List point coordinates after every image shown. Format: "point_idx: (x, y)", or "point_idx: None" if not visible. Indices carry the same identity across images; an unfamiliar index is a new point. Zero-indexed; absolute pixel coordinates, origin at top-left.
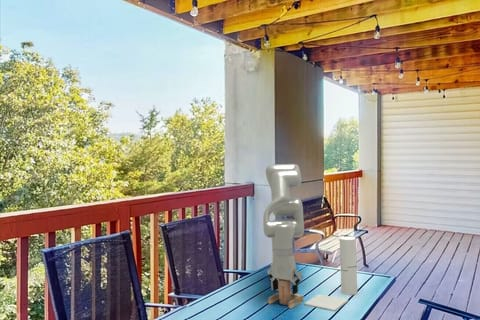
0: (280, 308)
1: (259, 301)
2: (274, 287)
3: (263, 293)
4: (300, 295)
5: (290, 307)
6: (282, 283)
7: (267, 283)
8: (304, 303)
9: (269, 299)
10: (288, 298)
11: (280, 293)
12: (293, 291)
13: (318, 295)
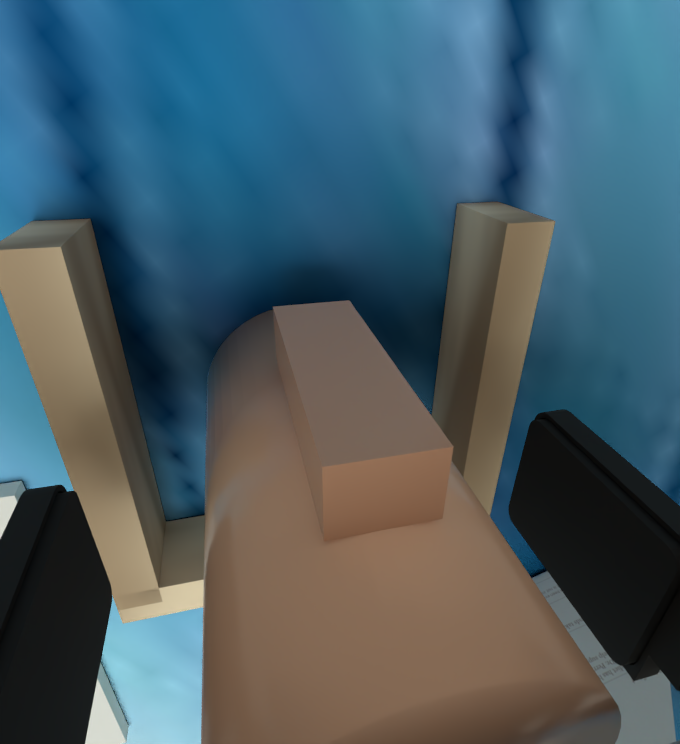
0: (205, 123)
1: (641, 205)
2: (576, 453)
3: (657, 446)
4: (153, 600)
5: (38, 227)
6: (381, 611)
7: None
8: (6, 495)
9: (510, 217)
10: (213, 411)
11: (336, 346)
12: (5, 541)
13: (97, 725)
